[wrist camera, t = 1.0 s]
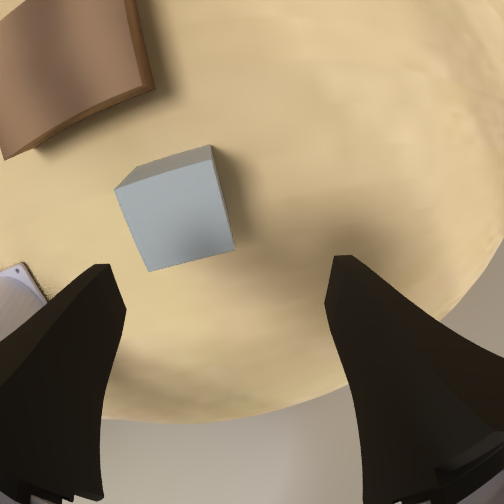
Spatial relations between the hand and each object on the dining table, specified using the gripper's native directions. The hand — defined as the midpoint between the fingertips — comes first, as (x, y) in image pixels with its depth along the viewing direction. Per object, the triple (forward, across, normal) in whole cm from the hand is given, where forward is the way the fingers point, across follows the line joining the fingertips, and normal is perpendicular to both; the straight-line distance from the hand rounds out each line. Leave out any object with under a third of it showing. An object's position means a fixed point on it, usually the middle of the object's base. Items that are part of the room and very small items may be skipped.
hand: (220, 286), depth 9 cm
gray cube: (+10, +3, +1) cm, 11 cm away
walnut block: (+10, +10, -10) cm, 18 cm away
